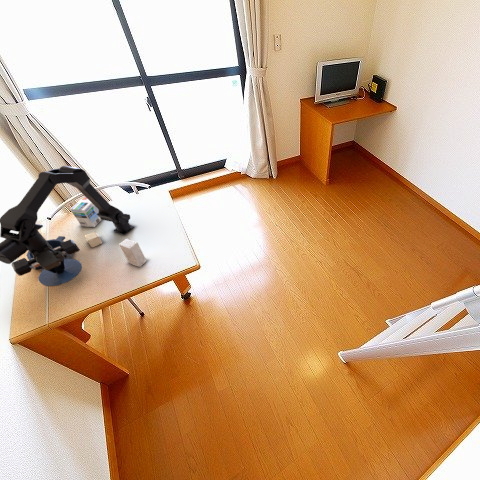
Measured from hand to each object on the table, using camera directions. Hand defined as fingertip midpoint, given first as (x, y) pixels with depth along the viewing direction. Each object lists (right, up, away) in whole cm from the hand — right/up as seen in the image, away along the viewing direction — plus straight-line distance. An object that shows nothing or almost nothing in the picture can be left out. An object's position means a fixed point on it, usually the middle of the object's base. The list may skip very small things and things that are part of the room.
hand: (59, 270), depth 110 cm
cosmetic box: (+22, +2, +15) cm, 26 cm away
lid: (0, -1, +1) cm, 1 cm away
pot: (-13, +4, +11) cm, 17 cm away
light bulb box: (-12, +22, +31) cm, 40 cm away
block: (-2, +11, +20) cm, 23 cm away
